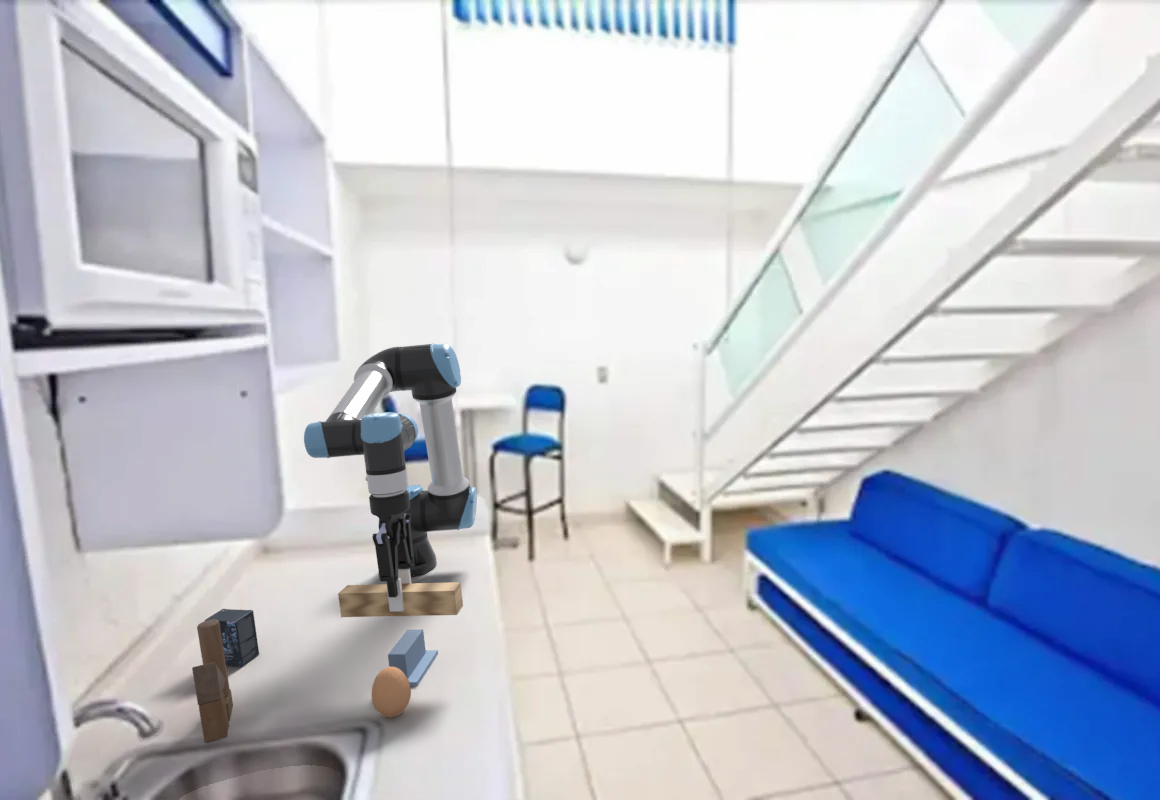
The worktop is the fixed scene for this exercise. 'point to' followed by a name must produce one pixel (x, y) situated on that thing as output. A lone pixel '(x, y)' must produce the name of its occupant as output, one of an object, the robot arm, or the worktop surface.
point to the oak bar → (415, 597)
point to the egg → (391, 692)
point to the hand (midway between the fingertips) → (401, 604)
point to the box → (237, 636)
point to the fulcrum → (412, 656)
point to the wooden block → (212, 683)
